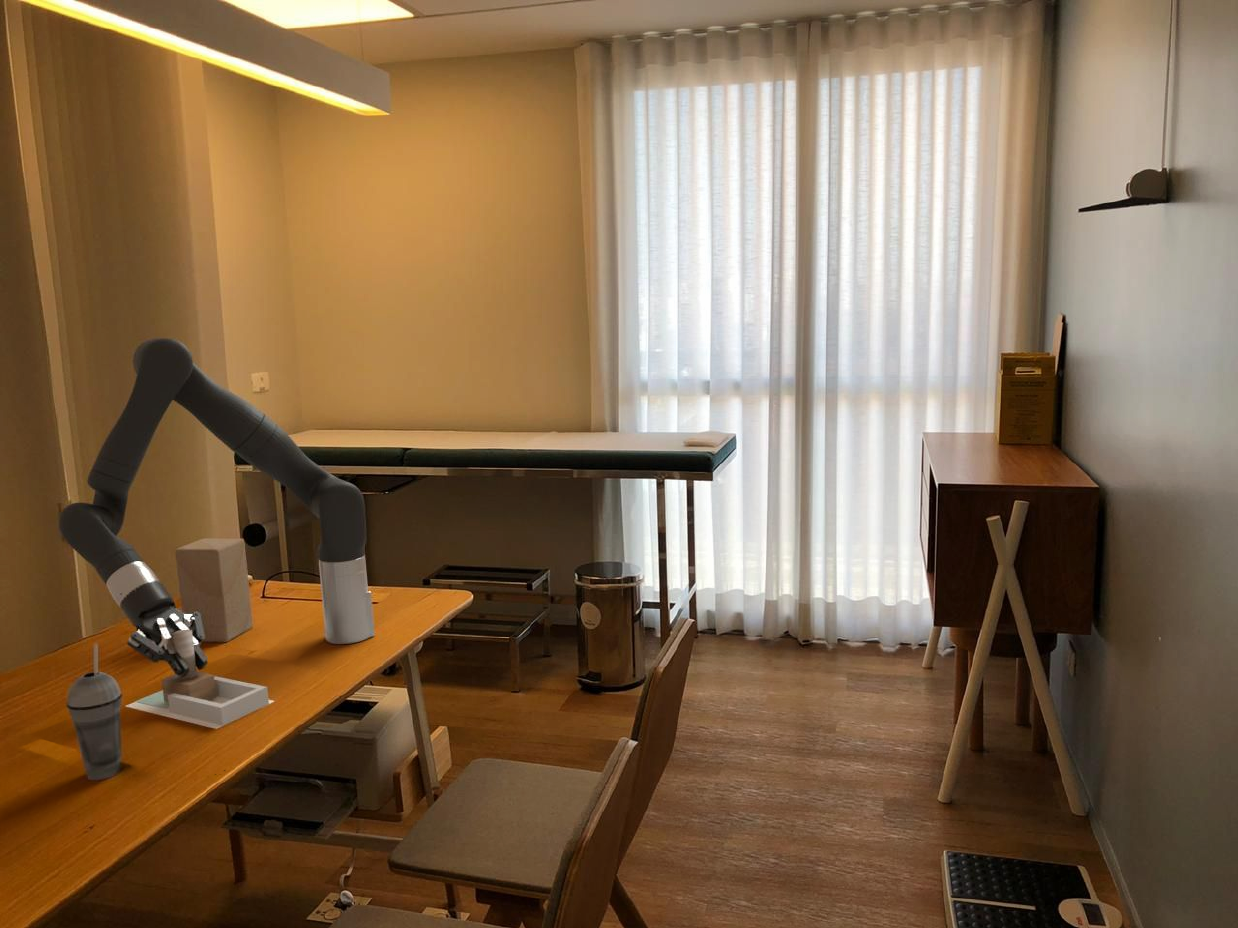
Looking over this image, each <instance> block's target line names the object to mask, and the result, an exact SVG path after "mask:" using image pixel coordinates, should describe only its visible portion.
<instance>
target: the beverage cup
mask: <svg viewBox="0 0 1238 928" xmlns="http://www.w3.org/2000/svg"><path fill="white" fill-rule="evenodd" d="M98 646H99V645H98V643H94V644H93V671H91V672H87V673H85V674H83V675H80V676H79V677H78V678H76V680H74V682H73V683H72V684H71V686H70V688H69V689H68V693H67V697H66V698H67V699H66V700H67V701H66V708H67V709H68V712H69V715H70V718H71V720H72V722H73V726H74V730H75V734H76V738H77V742H78V747H79V750H80V755H81V759H82V762H83V767H84V770H85V772H86V775H87V779H88V780H89V781H101V780H102V781H103V780H107V779H110V778H112V777H115V776H116V775H118V774H120V772H121V771H122V760H123V759H122V735H121V734H122V733H121V732H122V731H121V710H122V709H121V707H122V697H123V693H122V691H121V687H120V686H119V684H118V682H117V680H116V679H115V678H114V677H113V676H111V675H109V674H108V673H105V672H103V671H102V672H101V671H99V667H98V666H99V652H98V651H99V649H98V648H99V647H98Z"/></svg>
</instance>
